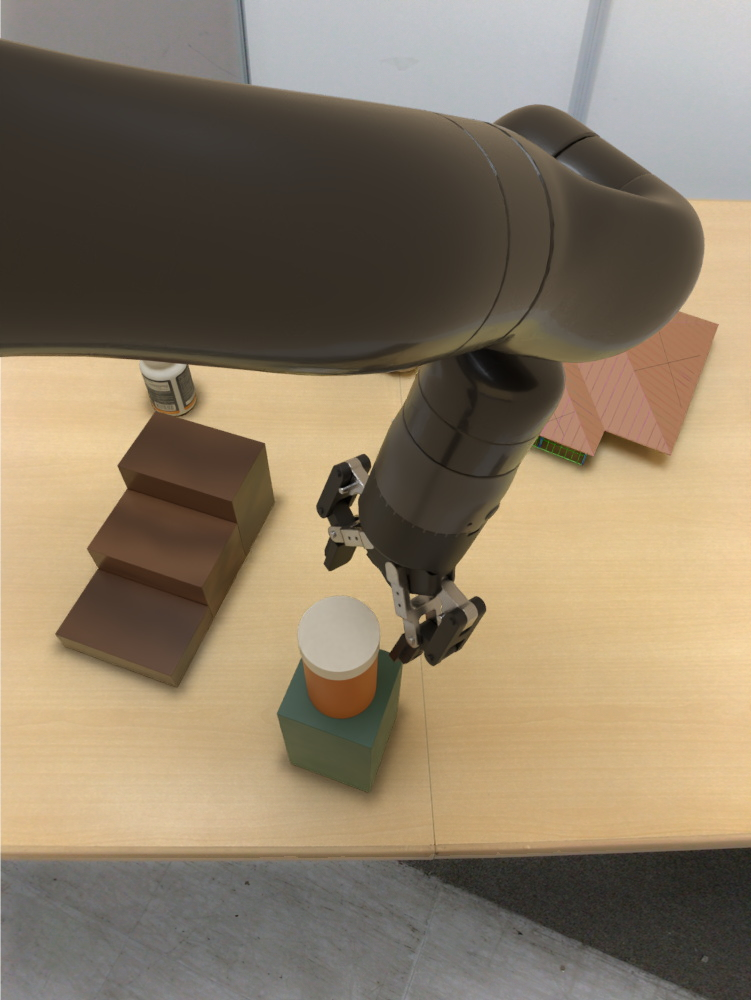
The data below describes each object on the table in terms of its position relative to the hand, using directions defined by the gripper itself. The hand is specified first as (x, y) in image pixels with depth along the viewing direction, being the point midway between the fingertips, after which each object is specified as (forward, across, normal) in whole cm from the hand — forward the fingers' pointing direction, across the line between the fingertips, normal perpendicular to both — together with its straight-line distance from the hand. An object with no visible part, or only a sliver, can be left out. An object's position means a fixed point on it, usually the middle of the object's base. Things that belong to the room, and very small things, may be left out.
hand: (368, 607), depth 56 cm
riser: (+25, -22, -3) cm, 34 cm away
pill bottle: (+26, -44, +9) cm, 52 cm away
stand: (+22, +4, +1) cm, 22 cm away
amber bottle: (+8, +2, -2) cm, 8 cm away
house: (+12, -16, +56) cm, 59 cm away
